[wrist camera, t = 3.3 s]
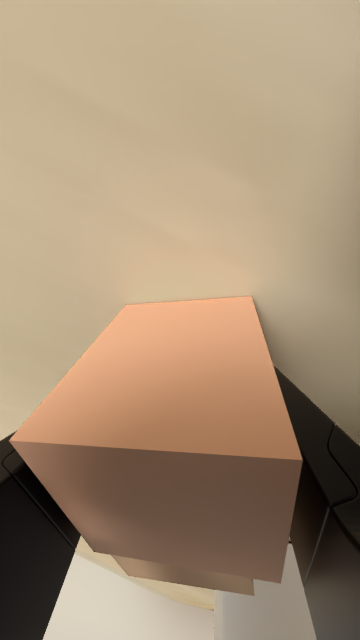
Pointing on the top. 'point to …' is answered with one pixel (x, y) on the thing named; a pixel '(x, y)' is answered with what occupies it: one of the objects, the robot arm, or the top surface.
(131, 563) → the walnut block
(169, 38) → the top surface
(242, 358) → the terracotta cube
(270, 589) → the milk carton
